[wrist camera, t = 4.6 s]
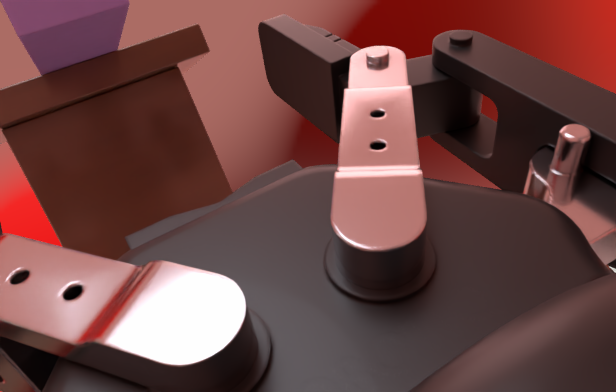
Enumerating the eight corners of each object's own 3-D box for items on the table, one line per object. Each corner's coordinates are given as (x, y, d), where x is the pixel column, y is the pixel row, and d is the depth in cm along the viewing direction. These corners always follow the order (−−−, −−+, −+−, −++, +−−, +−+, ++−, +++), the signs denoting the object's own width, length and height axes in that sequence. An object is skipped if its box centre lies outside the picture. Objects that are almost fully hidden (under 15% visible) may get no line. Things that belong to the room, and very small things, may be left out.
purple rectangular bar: (130, 3, 17) (98, -70, 17) (18, 37, 16) (-21, -41, 15) (109, 80, 34) (93, 46, 34) (55, 99, 33) (38, 64, 33)
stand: (400, 509, 33) (198, 22, 26) (233, 640, 29) (-59, 108, 22) (332, 432, 42) (170, 57, 35) (199, 524, 38) (-16, 122, 31)
